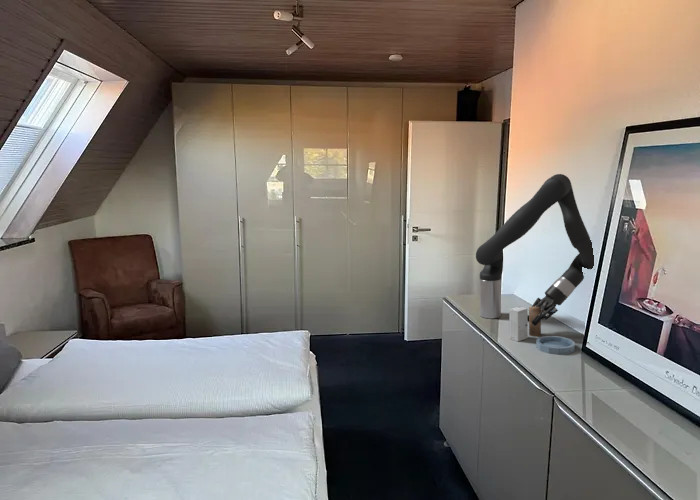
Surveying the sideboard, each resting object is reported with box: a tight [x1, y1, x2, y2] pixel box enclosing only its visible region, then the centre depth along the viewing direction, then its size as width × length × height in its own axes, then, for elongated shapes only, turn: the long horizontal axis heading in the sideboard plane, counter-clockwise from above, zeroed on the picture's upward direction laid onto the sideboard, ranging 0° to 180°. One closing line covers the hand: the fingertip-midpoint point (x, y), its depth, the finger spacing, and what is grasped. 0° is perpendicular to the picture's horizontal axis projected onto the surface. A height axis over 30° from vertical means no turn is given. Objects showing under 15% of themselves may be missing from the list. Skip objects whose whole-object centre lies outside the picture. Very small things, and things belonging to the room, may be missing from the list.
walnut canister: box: [528, 306, 542, 337], centre depth 196 cm, size 4×4×11 cm
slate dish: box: [535, 335, 576, 355], centre depth 182 cm, size 13×13×2 cm
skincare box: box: [508, 306, 529, 342], centre depth 192 cm, size 6×4×12 cm
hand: (530, 322), depth 196 cm, fingers closed on walnut canister, 4 cm apart
